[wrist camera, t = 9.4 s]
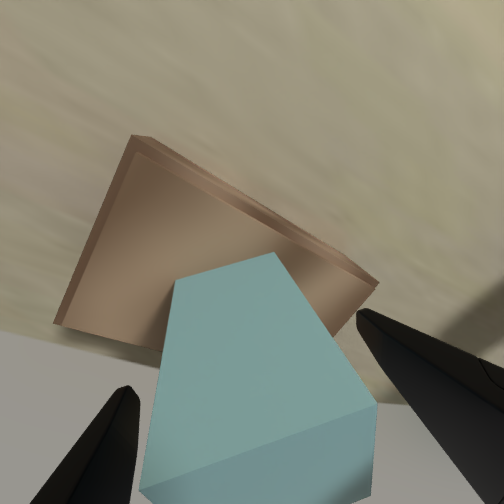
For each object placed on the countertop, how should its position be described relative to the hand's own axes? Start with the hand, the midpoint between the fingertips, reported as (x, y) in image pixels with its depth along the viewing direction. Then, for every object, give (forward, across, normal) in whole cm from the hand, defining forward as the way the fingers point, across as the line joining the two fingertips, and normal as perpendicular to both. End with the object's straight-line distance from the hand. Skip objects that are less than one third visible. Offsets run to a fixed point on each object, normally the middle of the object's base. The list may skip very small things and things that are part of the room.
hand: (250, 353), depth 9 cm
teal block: (+3, 0, 0) cm, 3 cm away
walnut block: (+7, 0, 0) cm, 7 cm away
